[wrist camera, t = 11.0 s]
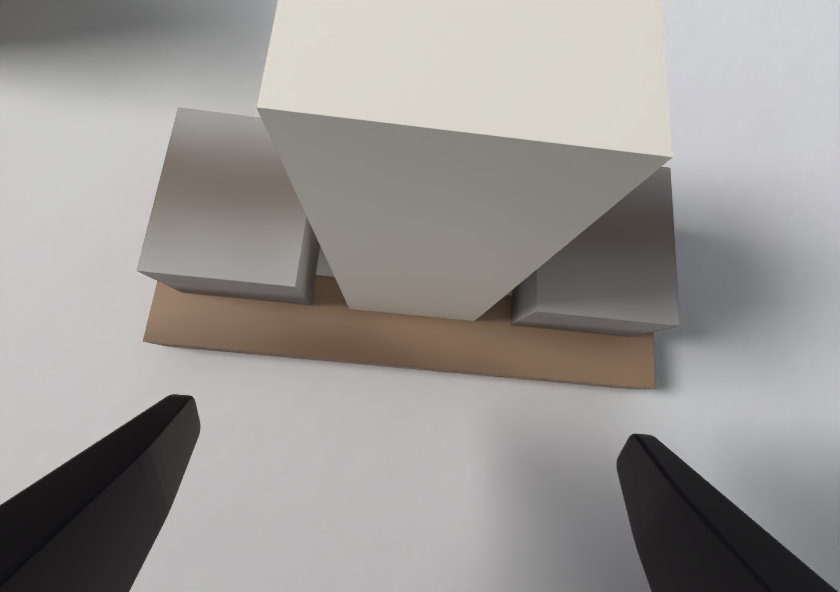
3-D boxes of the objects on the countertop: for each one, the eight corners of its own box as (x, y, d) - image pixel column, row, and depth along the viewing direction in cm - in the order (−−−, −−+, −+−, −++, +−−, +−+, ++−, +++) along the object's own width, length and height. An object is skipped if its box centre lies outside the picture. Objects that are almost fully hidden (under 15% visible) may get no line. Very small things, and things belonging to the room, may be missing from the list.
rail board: (634, 389, 18) (712, 388, 14) (163, 345, 17) (86, 329, 13) (627, 181, 20) (692, 124, 16) (212, 132, 19) (161, 56, 15)
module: (474, 321, 17) (672, 157, 5) (349, 309, 16) (256, 106, 5) (481, 181, 18) (649, -197, 7) (367, 168, 18) (327, -251, 6)
